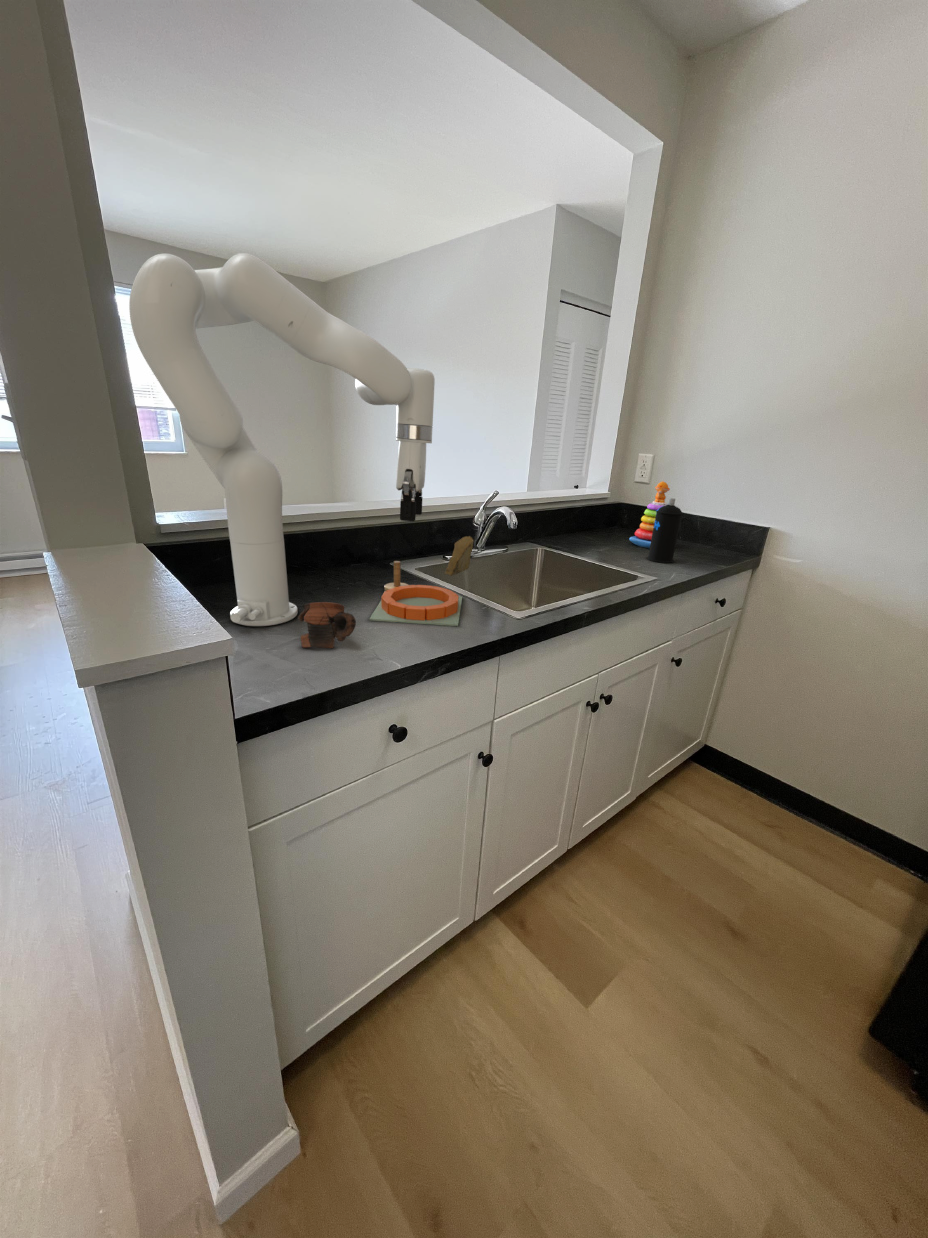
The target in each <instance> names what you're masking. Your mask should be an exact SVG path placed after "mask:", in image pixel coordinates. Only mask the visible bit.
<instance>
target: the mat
mask: <svg viewBox="0 0 928 1238" xmlns="http://www.w3.org/2000/svg"><path fill="white" fill-rule="evenodd" d="M458 596H459V599H458V610H457V612H456V613H455V614H453V615H450V616H448V617H444V618H441V619H434V620H426V619H425V620H410V619H406V618H404V619H402V618H399V617H396V616H392V615H389V614H387V613H386V612H385V611H384V610H383V609H382V607H381V600H380V601H379V603H378V605H377V606H376V607H375V609H374V611H373V612H372V614H371V616H370V617H369V621H374V622H388V623H404V624H419V625H433V626H435V625H436V626H450V627H458V626H459V622H460V617H461V610H462V604H463V595H462V596H461V595H458ZM396 602H399V603H402V604H406V605H412V606H431V605H440V604H442V603H444V602H443V601H440V600H437V599H433V598H423V597H413V598H404V599H401V600H398V601H396Z"/></svg>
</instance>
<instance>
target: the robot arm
mask: <svg viewBox="0 0 928 1238" xmlns="http://www.w3.org/2000/svg"><path fill="white" fill-rule="evenodd" d="M128 305H129V307H128V308H129V309H128V310H129V318H130V319H129V320H130V324H131V329H132V333H133V336H134V339H135V341H136V342H135V343H136V344H137V346H138V349H139V351H140V353H141V355H142V357H143V358H144V360H145V362H146V364H147V365H148V367H149V368H150V370H151V372H152V374H153V375H154V377H155V378H156V380H157V381H158V383H159V385H160V387H161V388H162V390H163V391H164V394H166V396H167V397H168V399H169V400H170V402H171V403H172V405H173V407H174V408H175V410H176V411H177V413H178V417H179V421H180V424H181V427H182V429H183V430H184V432H185V434H186V436H187V437H188V438H189V440H190V441H191V443H192V444H193V446H194V447H195V449H196V450H197V452H198V453H199V455H200V456H201V457H202V459H203V461H204V462H205V464H206V465H207V466H208V467H209V469H210V471H211V472H212V474H213V475H214V477H215V478H216V479H217V481H218V482H219V484H220V485H221V487H222V488H223V489H224V493H225V505H226V506H225V507H226V517H227V519H226V520H227V528H228V538H229V542H230V543H229V544H230V551H231V561H232V569H233V576H234V584H235V593H236V594H235V595H236V602H237V606H235V607H234V608H233V609H232V610H230V612H229V616H230V617H229V618H230V620H231V622H232V623H234V624H237V625H240V626H246V627H267V626H276V625H280V624H284V623H286V622H289V621H291V620H293V619H294V618H296V617H297V616H298V615H299V614H298V611H299V610H298V607H297V605H296V604H295V603H293V602H290V599H289V598H290V597H289V585H288V574H287V561H286V560H287V559H286V548H285V547H286V546H285V538H284V537H285V536H284V525H283V524H284V523H283V481H282V477H281V474H280V470H279V468H278V467H277V466H276V463H275V462H274V461H273V460H272V459H271V458H270V457H268V456H267V455H265V454H264V453H262V452H260V451H258V449H257V448H256V446H255V444H254V442H253V441H252V439H251V438H250V436H249V434H248V433H247V431H246V429H245V428H244V418H243V415H242V412H241V410H240V409H239V407H238V405H237V404H236V403H235V400H234V399H233V398H232V397H231V396H230V394H229V392H228V391H227V388H226V387H225V386H224V384H223V382H222V381H221V379H220V378H219V376H218V375H217V372H216V371H215V369H214V368H213V366H212V364H211V362H210V360H209V359H208V357H207V355H206V353H205V351H204V350H203V347H202V346H201V343H200V341H199V338H198V334H197V330H198V329H206V328H215V327H216V328H217V327H224V326H225V327H227V326H233V325H238V324H240V325H241V324H246V323H251V322H255V323H256V324H258V325H259V326H260V327H262V328H263V329H265V330H267V331H268V332H269V333H270V334H272V335H273V336H275V337H276V338H278V339H279V340H280V341H281V342H283V343H285V344H286V345H287V346H288V347H290V348H291V349H292V350H293V351H295V352H297V353H298V354H299V355H301V356H302V357H305V358H307V359H309V360H310V361H312V362H316V363H319V364H323V365H327V366H330V367H333V368H335V369H338V370H339V371H342V372H343V373H345V374H347V375H349V376H351V377H352V378H354V379H355V380H354V385H355V390H356V392H357V394H358V396H359V397H360V398H361V400H362V401H364V402H365V403H367V404H370V405H373V406H394V405H395V406H396V415H395V416H396V417H395V418H396V419H395V421H396V422H395V424H396V425H395V426H396V427H395V441H396V442H399V444H398V454H397V467H396V483H395V488H396V490H397V491H401V494H400V504H399V505H400V506H399V520H400V521H403V522H415V521H416V518H417V517H416V516H417V515H418V516H421V515H422V514H423V489H424V487H425V484H426V483H425V482H426V468H427V444H433V425H434V405H435V403H434V402H435V383H436V382H435V375H434V373H433V372H432V371H430V370H428V369H424V368H417V367H406V365H405V364H404V363H403V361H401V360H400V359H399V358H398V357H397V356H395V355H394V354H393V353H392V352H391V351H389V350H388V349H387V348H386V347H385V346H384V345H382V344H381V343H380V342H378V341H377V340H375V339H374V338H373V337H371V336H370V335H369V334H367V333H365V332H363V331H361V329H359V328H356V327H355V326H352V325H351V324H349V323H347V322H346V321H344V320H342V319H341V318H339V317H338V316H335V315H333V314H332V313H330V312H328V311H326V310H325V309H324V308H323V307H321V306H320V305H319V304H318V303H317V302H315V301H314V300H313V299H311V298H310V297H309V296H308V295H307V294H305V293H304V292H303V291H302V290H300V289H299V288H298V287H297V286H295V285H294V284H293V283H291V282H290V281H289V280H288V279H286V278H285V277H284V276H283V275H282V274H280V273H279V272H277V271H276V270H275V269H274V268H273V267H272V266H271V265H269V264H268V263H267V262H265V261H263V260H262V259H261V258H260V257H257V255H254V254H251V253H247V252H239V253H236V254H234V255H232V256H231V257H230V258H228V260H227V261H226V262H225V263H224V264H223V266H220V267H213V268H204V269H194V268H193V266H192V265H190V263H189V262H187V261H186V260H184V259H183V258H182V257H180V256H177V255H175V254H172V253H165V252H164V253H157V254H154V255H153V256H151V257H149V258H148V259H147V260H145V262H143V264H142V265H141V266H140V269H139V270H138V272H137V274H136V275H135V277H134V280H133V283H132V286H131V289H130V294H129V304H128Z"/></svg>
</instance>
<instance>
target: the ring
mask: <svg viewBox="0 0 928 1238" xmlns="http://www.w3.org/2000/svg"><path fill="white" fill-rule="evenodd" d="M459 596H460V595H458V594H457V593H456V592H454V591H453V590H451V589H449V588H445V587H442V586H441V587H440V586H437V585H429V584H427V585H426V584H408V586H399V587H395V588H392V589H389V590H386V591H385V590H384V592H383V594H382V595H381V599H380V601H381V607H382V609H383V610H384V611H385V612H386V613H387V614H389V615H392V616H396V617H399V618H402V619H404V618H406V619H410V620H425V619H426V620H434V619H441V618H444V617H448V616H450V615H453V614H455V613H456V612H457V610H458V599H459ZM413 597H423V598H433V599H437V600H440V601H443V602H444V603H442V604H440V605H431V606H412V605H406V604H402V603H399V602H396V601H398V600H401V599H404V598H413Z"/></svg>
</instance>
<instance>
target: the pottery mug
mask: <svg viewBox="0 0 928 1238" xmlns="http://www.w3.org/2000/svg"><path fill="white" fill-rule="evenodd" d="M302 608H303V611H301V612H300V613H299V614H298V616H297V620H299V622H300V623H301V622H303V621H304V622H305V623H306V628H307V632H308V633H305V634H301V635H300V644H301V647H302V648H317V649H334V647H335V641H336V640H337V641H338V642H340V643H342V642H344V641H345V640H346V639H347V637H349V636H351V635H352V633H353V632H354V630H355V628H356V626H357V620H356V618H355V616H354V615H353V613H349V612H345V608H346V606H345V605H343V604H341V603H337V602H329V601H328V602H327V601H321V602H320V601H318V602H316V601H315V602H308V603H304V604H303V605H302Z"/></svg>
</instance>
